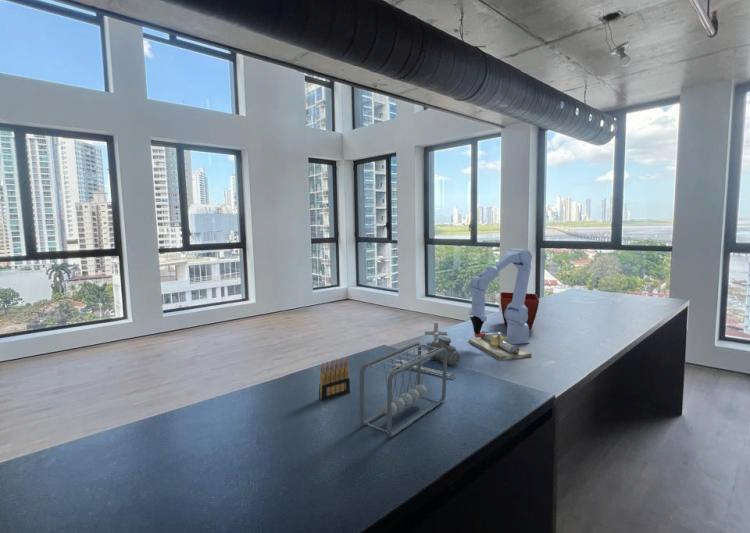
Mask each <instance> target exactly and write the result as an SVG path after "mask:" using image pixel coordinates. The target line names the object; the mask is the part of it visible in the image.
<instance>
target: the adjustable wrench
mask: <svg viewBox="0 0 750 533" xmlns="http://www.w3.org/2000/svg"><path fill="white" fill-rule="evenodd" d="M398 360H399V359H396V360H395V363H394V368H395V367H397V366H399V365H401V364H404V363H406V362H408V361H409V360H404V359H401V363H400V361H398ZM402 361H403V362H402ZM407 364H408V363H407ZM407 364H405V365H407ZM395 365H397V366H395ZM405 365H403V366H405ZM403 366H402V367H403ZM399 368H401V367H399ZM424 368H425V371H424ZM411 369H414V370H413V371H416V370H417V366H416V365H415V366H413V367H411V368H410V370H411ZM421 371H424V372H428V373H434V374H438V375H442V376H443V370H439V369H434V368H429V367H426V366H421ZM424 372H423V373H424ZM428 373H427V374H428ZM446 377H450V378H455V377H457V376H456V374H455V373H452V372H451V373H450V372H448V371H446ZM455 379H456V378H455Z"/></svg>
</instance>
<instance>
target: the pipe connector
mask: <svg viewBox="0 0 750 533" xmlns="http://www.w3.org/2000/svg"><path fill="white" fill-rule="evenodd" d="M424 335H425V336H433V341H435V340H438V338H439V336H444V337H448V332H447V331H443V330H442V331H439V322H438V321H434V322H433V330H425V331H424ZM438 341H439V340H438Z"/></svg>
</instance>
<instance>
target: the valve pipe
mask: <svg viewBox="0 0 750 533" xmlns="http://www.w3.org/2000/svg"><path fill="white" fill-rule="evenodd" d="M480 333H484V334H485V333H488V331H486V330H482V331H480ZM480 338H482V339H486V340H488V341H489V342H491V345H493V346H495V347H497V348H503V349H505V350H506V351H508V352H510V353H511V354H512V355H516V354H518V353H519V348H520V347H519V346H517V345H515V346H512V345H510V344H508V343H507V337H505V336H503V335H492V336H485V337H480ZM518 347H519V348H518Z"/></svg>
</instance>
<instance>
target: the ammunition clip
mask: <svg viewBox="0 0 750 533" xmlns="http://www.w3.org/2000/svg"><path fill="white" fill-rule="evenodd" d="M349 375H350V371H349V361H348V357H346V356H345V359H344V360H343V358H340V361H339V360H338V359H336V360H335V364H334V361H333V360H332V359H331V361H330V362H329V361H326V364H324V362H322V363H321V365H320V376H319V377H320V378H319V379H320V380H319V388H318V399H319V401H321V402H324V401H327V400H331V399H335V398H338V397H341V396H343V395H348V394H350V393H351V387H350V382H351V381H350V376H349Z"/></svg>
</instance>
